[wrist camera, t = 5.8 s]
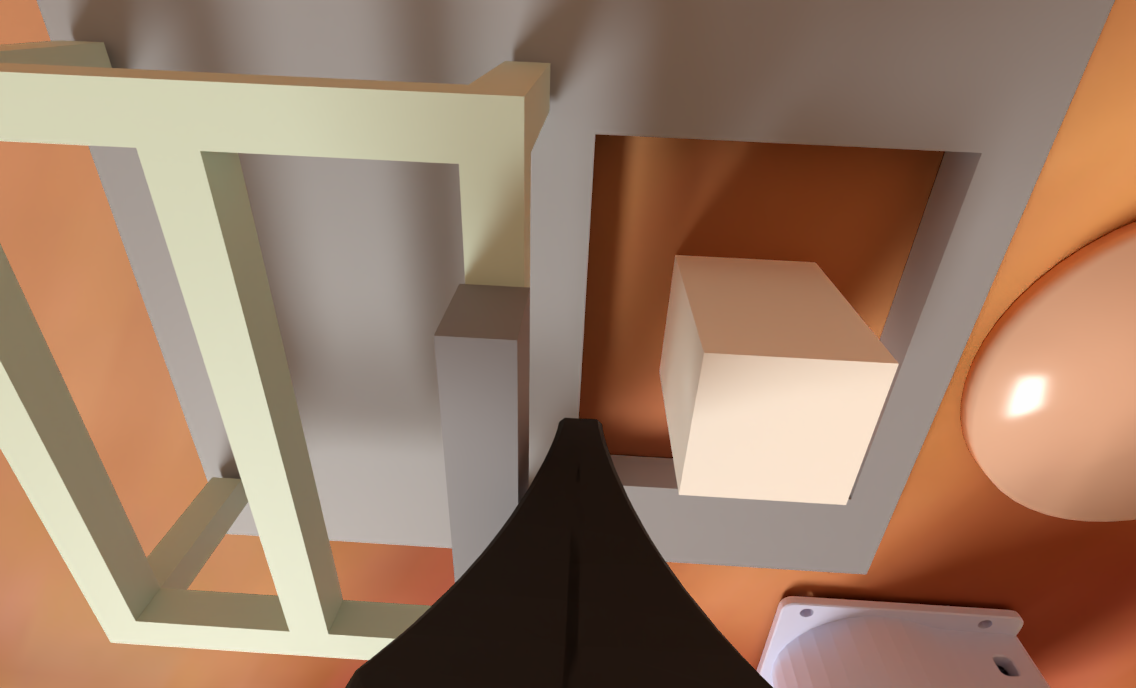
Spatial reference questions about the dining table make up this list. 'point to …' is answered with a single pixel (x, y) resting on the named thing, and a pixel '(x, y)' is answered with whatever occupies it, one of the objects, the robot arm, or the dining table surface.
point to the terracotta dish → (1063, 389)
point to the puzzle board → (589, 216)
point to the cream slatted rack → (270, 334)
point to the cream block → (768, 381)
